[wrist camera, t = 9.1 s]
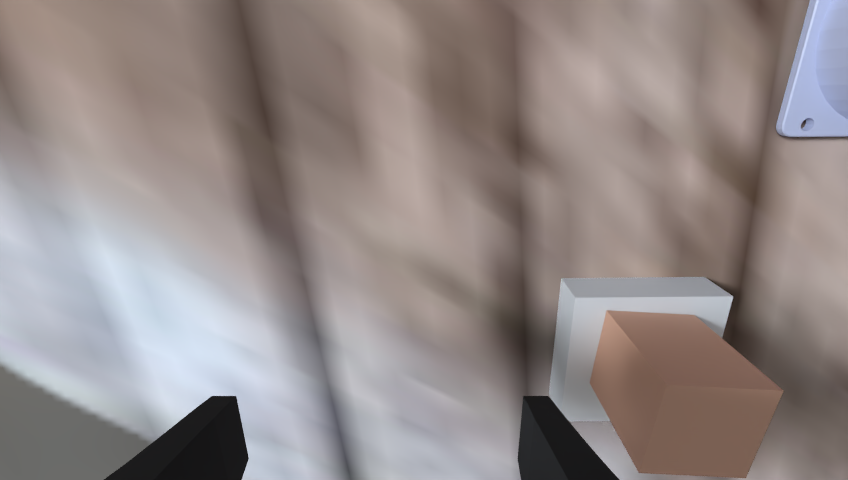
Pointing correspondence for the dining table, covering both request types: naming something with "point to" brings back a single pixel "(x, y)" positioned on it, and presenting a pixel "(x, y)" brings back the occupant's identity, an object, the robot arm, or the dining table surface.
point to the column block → (681, 395)
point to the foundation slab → (585, 319)
